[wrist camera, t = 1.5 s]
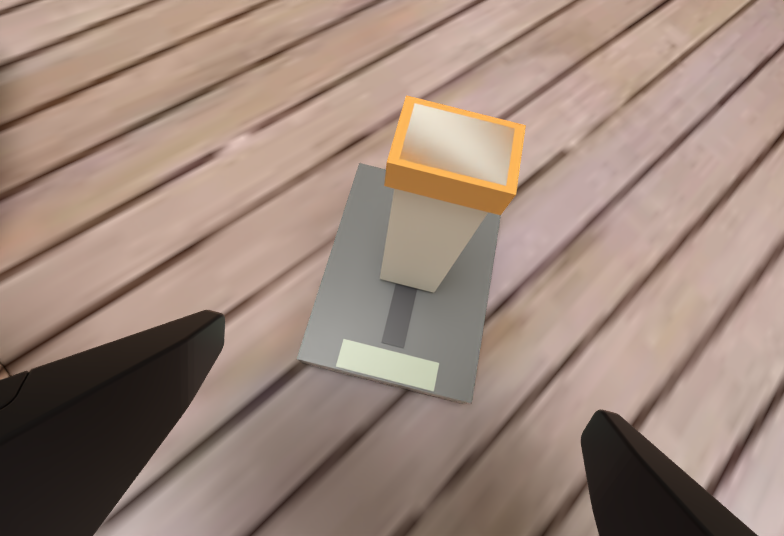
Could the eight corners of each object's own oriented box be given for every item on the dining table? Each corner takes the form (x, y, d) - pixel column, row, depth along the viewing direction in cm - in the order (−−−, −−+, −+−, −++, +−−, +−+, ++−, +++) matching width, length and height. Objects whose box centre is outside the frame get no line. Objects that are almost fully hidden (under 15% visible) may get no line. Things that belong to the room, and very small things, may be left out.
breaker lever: (439, 297, 20) (515, 194, 10) (373, 280, 20) (386, 162, 10) (447, 256, 21) (525, 125, 11) (384, 241, 21) (406, 95, 11)
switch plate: (461, 403, 21) (472, 403, 19) (302, 362, 21) (296, 358, 19) (492, 214, 25) (504, 197, 23) (359, 181, 25) (359, 160, 23)
